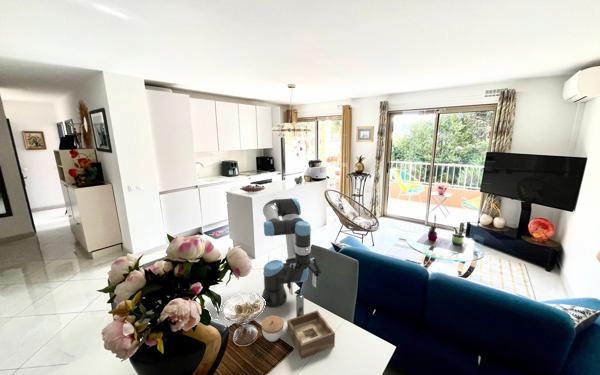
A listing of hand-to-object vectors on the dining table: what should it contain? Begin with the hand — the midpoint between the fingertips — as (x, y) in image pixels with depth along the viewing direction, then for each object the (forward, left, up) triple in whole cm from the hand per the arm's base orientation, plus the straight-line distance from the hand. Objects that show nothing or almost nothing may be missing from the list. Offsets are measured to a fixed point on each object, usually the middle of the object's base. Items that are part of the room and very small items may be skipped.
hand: (302, 289), depth 129 cm
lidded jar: (+3, -18, -19) cm, 26 cm away
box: (+12, -2, -19) cm, 22 cm away
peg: (-2, -1, -19) cm, 19 cm away
